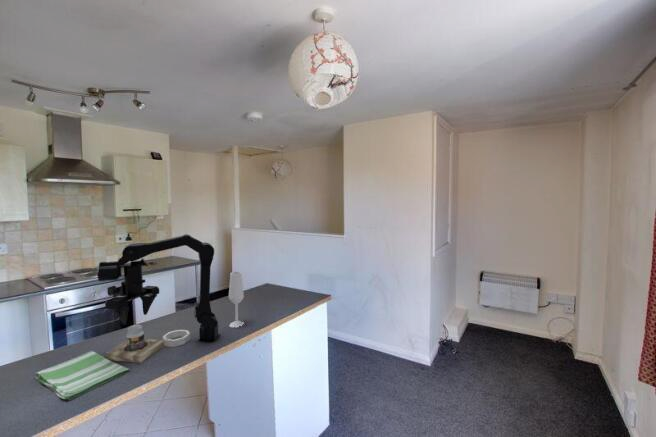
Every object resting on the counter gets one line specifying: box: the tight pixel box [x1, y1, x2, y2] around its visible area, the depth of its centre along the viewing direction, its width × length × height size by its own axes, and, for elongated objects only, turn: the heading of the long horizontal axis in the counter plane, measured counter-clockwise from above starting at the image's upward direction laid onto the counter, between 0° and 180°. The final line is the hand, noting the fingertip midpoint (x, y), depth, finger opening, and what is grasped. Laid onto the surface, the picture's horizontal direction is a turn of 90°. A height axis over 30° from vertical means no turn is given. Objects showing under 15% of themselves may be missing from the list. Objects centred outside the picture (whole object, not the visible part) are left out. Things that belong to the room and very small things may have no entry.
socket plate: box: [105, 338, 165, 364], centre depth 116 cm, size 14×12×2 cm
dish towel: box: [34, 350, 131, 401], centre depth 101 cm, size 18×23×3 cm
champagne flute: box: [228, 271, 245, 328], centre depth 141 cm, size 7×7×24 cm
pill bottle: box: [125, 324, 145, 352], centre depth 115 cm, size 6×6×10 cm
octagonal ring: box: [162, 329, 191, 348], centre depth 125 cm, size 10×10×2 cm
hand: (135, 319), depth 115 cm, fingers open, 9 cm apart
